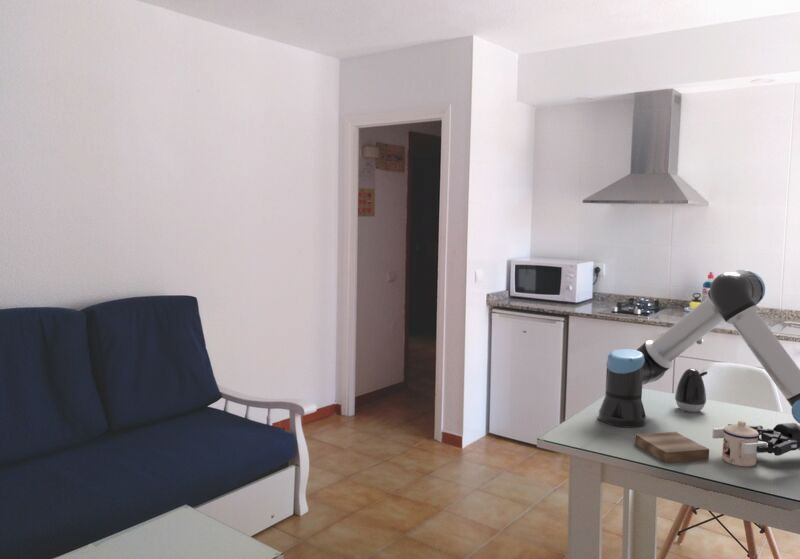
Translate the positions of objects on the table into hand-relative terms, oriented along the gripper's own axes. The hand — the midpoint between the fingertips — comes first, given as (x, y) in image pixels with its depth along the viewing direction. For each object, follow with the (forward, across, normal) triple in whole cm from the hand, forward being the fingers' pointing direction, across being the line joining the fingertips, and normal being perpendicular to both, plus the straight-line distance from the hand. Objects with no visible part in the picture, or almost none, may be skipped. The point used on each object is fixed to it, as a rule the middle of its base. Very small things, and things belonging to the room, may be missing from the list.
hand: (728, 440), depth 186 cm
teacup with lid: (-4, 0, -7) cm, 8 cm away
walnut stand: (+10, +11, -6) cm, 16 cm away
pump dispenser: (-23, +46, -7) cm, 52 cm away
